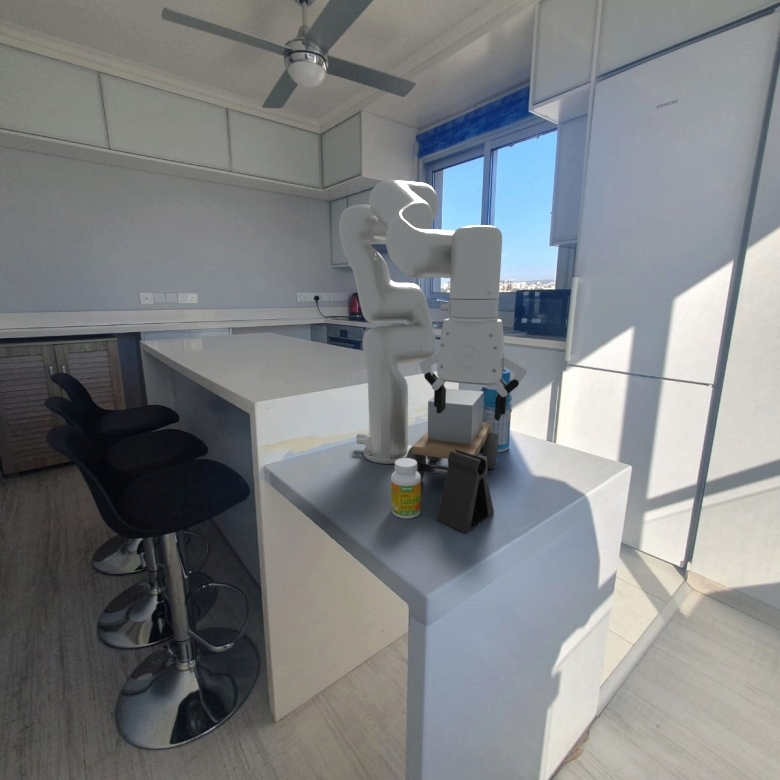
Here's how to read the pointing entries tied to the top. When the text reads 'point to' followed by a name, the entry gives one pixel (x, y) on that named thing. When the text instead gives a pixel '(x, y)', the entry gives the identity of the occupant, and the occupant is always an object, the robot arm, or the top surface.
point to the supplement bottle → (406, 489)
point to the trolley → (455, 432)
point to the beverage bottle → (498, 426)
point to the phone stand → (465, 493)
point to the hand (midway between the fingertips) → (468, 414)
